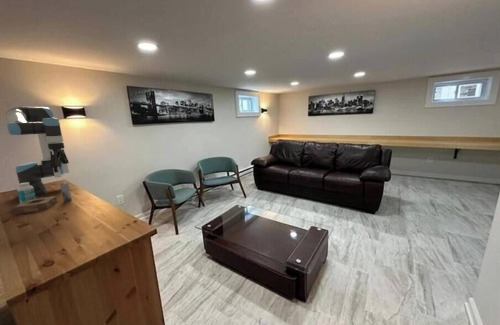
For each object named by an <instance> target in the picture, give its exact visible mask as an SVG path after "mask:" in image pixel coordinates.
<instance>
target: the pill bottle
mask: <svg viewBox="0 0 500 325" xmlns="http://www.w3.org/2000/svg"><path fill="white" fill-rule="evenodd" d="M19 186H20V187H19ZM16 192H17V196H18V200H19V204H21V203H23V202H24V201H26V200H29V199H37V197H36V195H35V193H34V188H33V186H30V185H29V182H27V183H20V184H19V183H18V187H17V188H16Z"/></svg>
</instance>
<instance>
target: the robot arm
mask: <svg viewBox="0 0 500 325" xmlns="http://www.w3.org/2000/svg"><path fill="white" fill-rule="evenodd" d="M5 118H6V120H7V121H8V122H7V123H6V128H7V130H8V131H7V132H8V134H9V135H10V136H25V135H37V139H38V141H39V146H40V150H41V154H42V159H41V161H40V163H39V162H38V161H31V162H30V161H29V162H26V163H21V164H18V165H16V166H15V174H16V175H17V180H18V188H19V187H20V186H19V184H20V183H27V182H29V185H30V186H33V188H34V193H35V196H36V195H40V194H43V193H46V192H47V191H48V189H47V187H46V185H45V184H44V183H43V181H42V179H45V178H46V179H47V178H51V177H54V178H55V179H56V178H57V179H58V178H61V177H62V175H65V174H69V173H70V170H69V165H68V164H70V162H69V159H68V157H67V155H66V152H65V144H64V138H63V135H62V129H61V123H60V121H59V119H58V118H57V117H55V116H54V112H53V110H51V108H50V107H47V106H24V105H23V106H22V105H21V106H15V107H12V108H11V109H8V110H7V111H6V113H5Z"/></svg>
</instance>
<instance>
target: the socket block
mask: <svg viewBox="0 0 500 325" xmlns="http://www.w3.org/2000/svg"><path fill="white" fill-rule="evenodd" d="M57 202H58V200H57V195H52V196H46V197H39V198H38V197H36V199H29V200H26V201H24V202H23V203H21V204H20V203H19V204H17V205H16V206H14V207H13V209H14V212H15V215H18V214H19V213H20V214H25V213H31V212H39V211H44V210H48V209H50V208H51V207H52V206H53V205H54V204H56V203H57Z"/></svg>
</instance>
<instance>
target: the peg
mask: <svg viewBox="0 0 500 325" xmlns="http://www.w3.org/2000/svg"><path fill="white" fill-rule="evenodd" d="M59 185H60V190H61V194H62V198H63V202H70V201H72V195H71V190H70V185H69V182H61V183H60V184H59Z"/></svg>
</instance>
